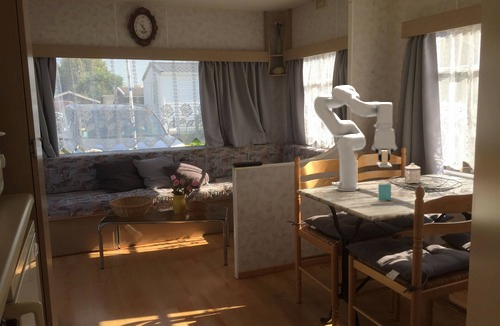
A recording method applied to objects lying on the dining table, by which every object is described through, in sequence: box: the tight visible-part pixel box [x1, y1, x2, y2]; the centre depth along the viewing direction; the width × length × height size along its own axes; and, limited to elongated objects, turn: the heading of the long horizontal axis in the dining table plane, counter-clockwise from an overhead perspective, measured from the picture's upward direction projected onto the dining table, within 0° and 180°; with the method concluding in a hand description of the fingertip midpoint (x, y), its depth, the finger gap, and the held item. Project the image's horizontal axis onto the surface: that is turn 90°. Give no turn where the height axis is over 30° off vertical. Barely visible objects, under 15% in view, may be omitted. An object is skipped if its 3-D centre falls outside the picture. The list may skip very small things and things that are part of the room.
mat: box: [370, 203, 406, 207], centre depth 214 cm, size 16×16×1 cm
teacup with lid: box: [404, 162, 421, 184], centre depth 256 cm, size 12×9×12 cm
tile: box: [377, 183, 392, 201], centre depth 217 cm, size 6×2×8 cm, turn 81°
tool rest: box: [391, 190, 414, 198], centre depth 227 cm, size 10×13×1 cm
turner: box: [376, 149, 393, 168], centre depth 225 cm, size 6×10×8 cm, turn 173°
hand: (384, 161), depth 225 cm, fingers closed on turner, 3 cm apart
